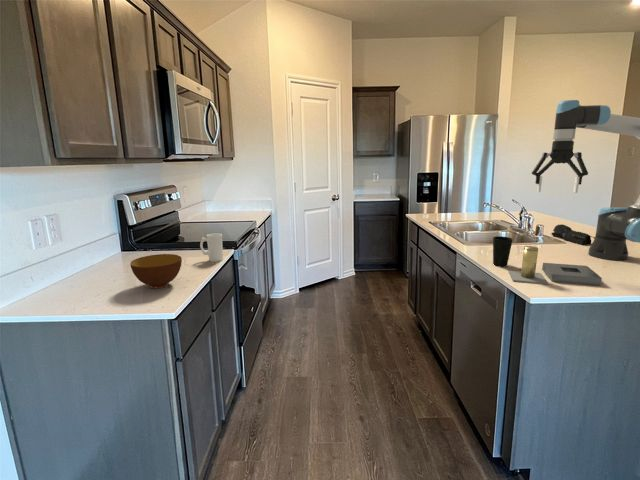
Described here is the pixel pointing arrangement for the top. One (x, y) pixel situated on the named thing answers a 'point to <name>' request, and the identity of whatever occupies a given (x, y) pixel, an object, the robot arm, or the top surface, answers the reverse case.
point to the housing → (571, 274)
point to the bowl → (156, 269)
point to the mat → (517, 278)
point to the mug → (213, 247)
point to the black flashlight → (571, 235)
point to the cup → (501, 250)
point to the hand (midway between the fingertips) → (556, 192)
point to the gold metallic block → (529, 262)
